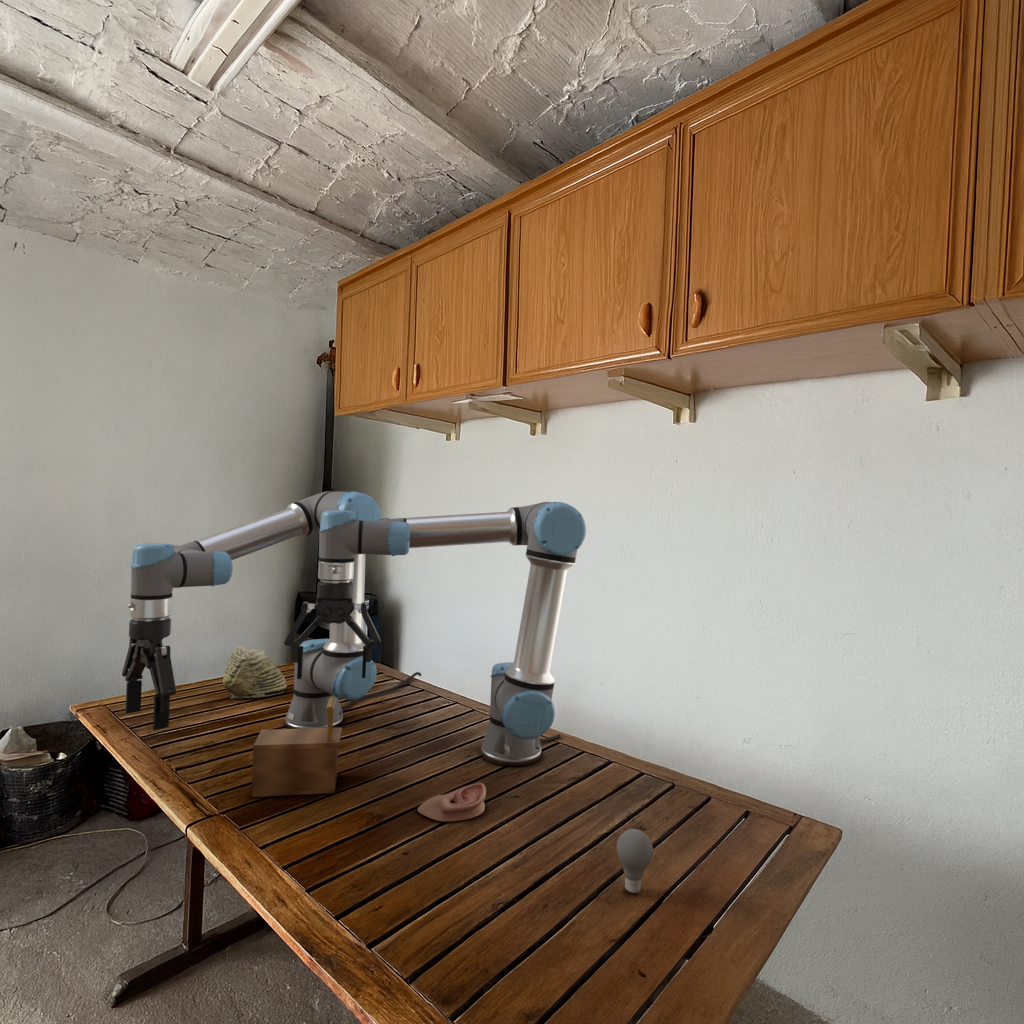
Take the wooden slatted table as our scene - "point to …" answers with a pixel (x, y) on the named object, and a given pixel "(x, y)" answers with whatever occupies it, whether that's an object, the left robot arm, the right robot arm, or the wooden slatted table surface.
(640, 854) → the light bulb
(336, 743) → the lid
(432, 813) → the anatomical model
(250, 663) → the fossil
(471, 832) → the wooden slatted table surface
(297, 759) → the chest
